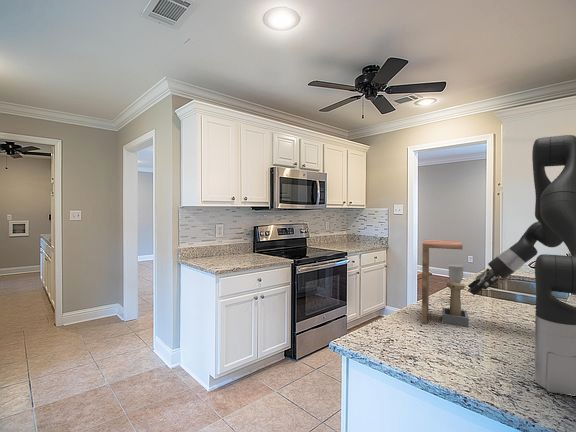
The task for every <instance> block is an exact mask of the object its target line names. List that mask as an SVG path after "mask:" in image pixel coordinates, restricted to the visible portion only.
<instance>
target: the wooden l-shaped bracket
mask: <svg viewBox="0 0 576 432" xmlns="http://www.w3.org/2000/svg"><path fill="white" fill-rule="evenodd" d="M430 249H442V250H443V249H445V250H446V249H448V250H460V251H461V250H463V243H462V241H461V240H452V239H451V240H450V239H449V240H446V239H424V241H422V253H421V254H422V255H421V256H422V260H421V261H422V262H421V264H422V265H421V267H422V268H421V269H422V271H421V273H422V275H421V277H422V282H421V288H422V289H421V292H422V293H421V324H422V325H427V324H428V323H427V322H428V317H429V316H428V315H429V309H430V307H429V302H430V301H429V299H430V298H429V297H430V295H429V294H430V293H429V289H430V288H429V287H430Z"/></svg>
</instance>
